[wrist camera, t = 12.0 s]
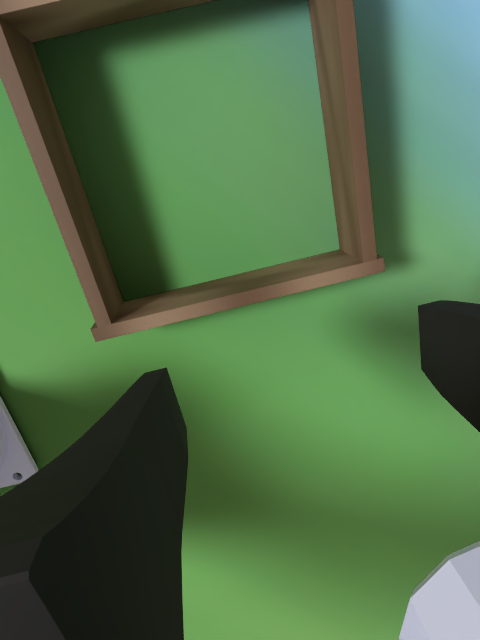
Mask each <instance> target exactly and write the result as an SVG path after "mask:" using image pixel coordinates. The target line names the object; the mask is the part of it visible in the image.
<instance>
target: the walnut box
mask: <svg viewBox="0 0 480 640" xmlns="http://www.w3.org/2000/svg"><path fill="white" fill-rule="evenodd" d="M210 1H214V0H0V76H1V79H2V82H3V84H4V87H5V89H6V92H7V95H8V97H9V100H10V102H11V105H12V107H13V110H14V113H15V115H16V118H17V120H18V123H19V126H20V128H21V131H22V133H23V136H24V139H25V141H26V144H27V146H28V149H29V151H30V154H31V157H32V159H33V162H34V164H35V167H36V170H37V172H38V175H39V177H40V180H41V183H42V185H43V188H44V190H45V193H46V195H47V198H48V201H49V203H50V206H51V208H52V211H53V214H54V216H55V219H56V221H57V224H58V227H59V229H60V232H61V234H62V237H63V240H64V242H65V245H66V247H67V250H68V252H69V255H70V258H71V260H72V263H73V265H74V268H75V271H76V273H77V276H78V278H79V281H80V284H81V286H82V289H83V291H84V294H85V296H86V299H87V302H88V304H89V307H90V309H91V312H92V315H93V317H94V320H95V323H94V325H93V326H92V328H91V332H92V334H93V337H94V339H95V342H97V341H101V340H105V339H109V338H113V337H118V336H122V335H126V334H130V333H134V332H138V331H142V330H146V329H150V328H154V327H159V326H163V325H167V324H171V323H175V322H179V321H183V320H187V319H191V318H195V317H199V316H204V315H208V314H212V313H216V312H220V311H224V310H228V309H232V308H236V307H240V306H245V305H249V304H253V303H257V302H261V301H265V300H269V299H273V298H277V297H281V296H286V295H290V294H294V293H298V292H302V291H306V290H310V289H314V288H318V287H322V286H327V285H331V284H335V283H339V282H343V281H347V280H351V279H355V278H359V277H363V276H368V275H372V274H376V273H380V272H384V271H385V265H384V258H383V257H381V256H379V255H377V253H376V243H375V232H374V221H373V210H372V200H371V189H370V178H369V167H368V156H367V146H366V135H365V124H364V113H363V103H362V92H361V81H360V70H359V60H358V49H357V38H356V27H355V17H354V6H353V0H308V3H309V10H310V18H311V26H312V34H313V42H314V50H315V58H316V65H317V73H318V81H319V89H320V97H321V105H322V113H323V120H324V128H325V136H326V144H327V152H328V160H329V167H330V175H331V183H332V191H333V199H334V207H335V215H336V222H337V230H338V238H339V246H340V250H336V251H332V252H328V253H324V254H319V255H315V256H311V257H307V258H303V259H299V260H295V261H291V262H287V263H282V264H278V265H274V266H270V267H266V268H262V269H258V270H254V271H249V272H245V273H241V274H237V275H233V276H229V277H225V278H221V279H216V280H212V281H208V282H204V283H200V284H196V285H192V286H188V287H184V288H179V289H175V290H171V291H167V292H163V293H159V294H155V295H151V296H146V297H142V298H138V299H134V300H130V301H126V302H123V299H122V296H121V293H120V290H119V288H118V285H117V282H116V279H115V276H114V273H113V270H112V268H111V265H110V262H109V259H108V256H107V253H106V250H105V248H104V245H103V242H102V239H101V236H100V233H99V231H98V228H97V225H96V222H95V219H94V216H93V213H92V211H91V208H90V205H89V202H88V199H87V196H86V193H85V191H84V188H83V185H82V182H81V179H80V176H79V173H78V171H77V168H76V165H75V162H74V159H73V156H72V153H71V151H70V148H69V145H68V142H67V139H66V136H65V133H64V131H63V128H62V125H61V122H60V119H59V116H58V113H57V111H56V108H55V105H54V102H53V99H52V96H51V94H50V91H49V88H48V85H47V82H46V79H45V76H44V74H43V71H42V68H41V65H40V62H39V59H38V56H37V54H36V51H35V48H34V45H33V42H37V41H41V40H46V39H50V38H54V37H59V36H63V35H67V34H72V33H76V32H80V31H84V30H89V29H93V28H97V27H102V26H106V25H110V24H115V23H119V22H123V21H128V20H132V19H136V18H141V17H145V16H149V15H153V14H158V13H162V12H166V11H171V10H175V9H179V8H184V7H188V6H192V5H197V4H201V3H205V2H210Z"/></svg>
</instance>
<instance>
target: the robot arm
mask: <svg viewBox="0 0 480 640" xmlns="http://www.w3.org/2000/svg"><path fill="white" fill-rule="evenodd" d="M418 315H419V332H420V350H421V368H422V370H423V372H424V373H425V375H426V376H427V377H428V379H429V380H430V381H431V383H432V384H433V385H434V386H435V388H436V389H437V390H438V391H439V393H440V394H441V395H442V396H443V397H444V398H445V399H446V400H447V401H448V402H449V403H450V404H451V405H452V406H453V407H454V408H455V409H456V410H457V411H458V412H459V413H460V414H461V415H462V416H463V417H464V418H465V419H466V420H467V421H468V422H470V423H471V424H472V425H473V426H474V427H475V428H476V429H477V430H478V431H479V432H480V304H474V303H467V302H458V301H436V302H431V303H427V304H423V305H419V306H418ZM187 467H188V446H187V431H186V425H185V422H184V419H183V416H182V413H181V410H180V407H179V404H178V401H177V398H176V395H175V392H174V389H173V386H172V383H171V380H170V377H169V374H168V371H167V368H163V369H159V370H155V371H151V372H147V373H144V374H143V375H142V376H141V377H140V378H139V379H138V380H137V381H136V382H135V383H134V384H133V385H132V386H131V387H130V388H129V389H128V391H127V392H126V393H125V394H124V395H123V396H122V397H121V398H120V399H119V400H118V401H117V402H116V403H115V404H114V405H113V407H112V408H111V409H110V410H109V411H108V412H107V413H106V414H105V415H104V416H103V417H102V418H101V419H100V420H99V421H97V422H96V423H95V424H94V425H93V426H92V427H91V428H90V429H89V430H88V431H87V432H86V433H85V434H84V435H83V436H82V437H81V438H80V439H78V440H77V441H76V442H75V443H74V444H73V445H71V446H70V447H69V448H68V449H67V450H65V451H64V452H63V453H62V454H60V455H59V456H58V457H57V458H55V459H54V460H53V461H52V462H50V463H49V464H48V465H46V466H45V467H43V468H42V469H40V470H39V471H38V467H37V465H36V463H35V461H34V460H33V458H32V456H31V454H30V452H29V450H28V448H27V446H26V444H25V442H24V440H23V438H22V437H21V435H20V433H19V431H18V429H17V427H16V425H15V423H14V421H13V419H12V417H11V416H10V414H9V412H8V410H7V408H6V406H5V404H4V402H3V400H2V398H1V396H0V488H3V487H7V486H11V485H15V484H19V483H20V484H19V485H17V486H16V487H15V488H13V489H12V490H10V491H9V492H7V493H5V494H4V495H2V496H1V497H0V640H184V634H183V605H182V565H181V545H182V527H183V516H184V504H185V492H186V480H187ZM17 473H20V474H21V475H18V474H17ZM399 640H480V541H478V542H475V543H473V544H471V545H469V546H467V547H464V548H462V549H460V550H458V551H455V552H453V553H451V554H449V555H447V556H446V557H445V558H444V559H443V560H442V561H441V562H440V563H439V564H438V565H437V566H436V567H435V568H434V569H433V570H432V571H431V572H430V573H429V574H428V575H427V576H426V577H425V578H424V579H423V580H422V581H421V582H420V583H419V584H418V585H417V586H416V587H415V588H414V590H413V592H412V595H411V597H410V600H409V604H408V607H407V611H406V615H405V618H404V622H403V625H402V629H401V633H400V636H399Z"/></svg>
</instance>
